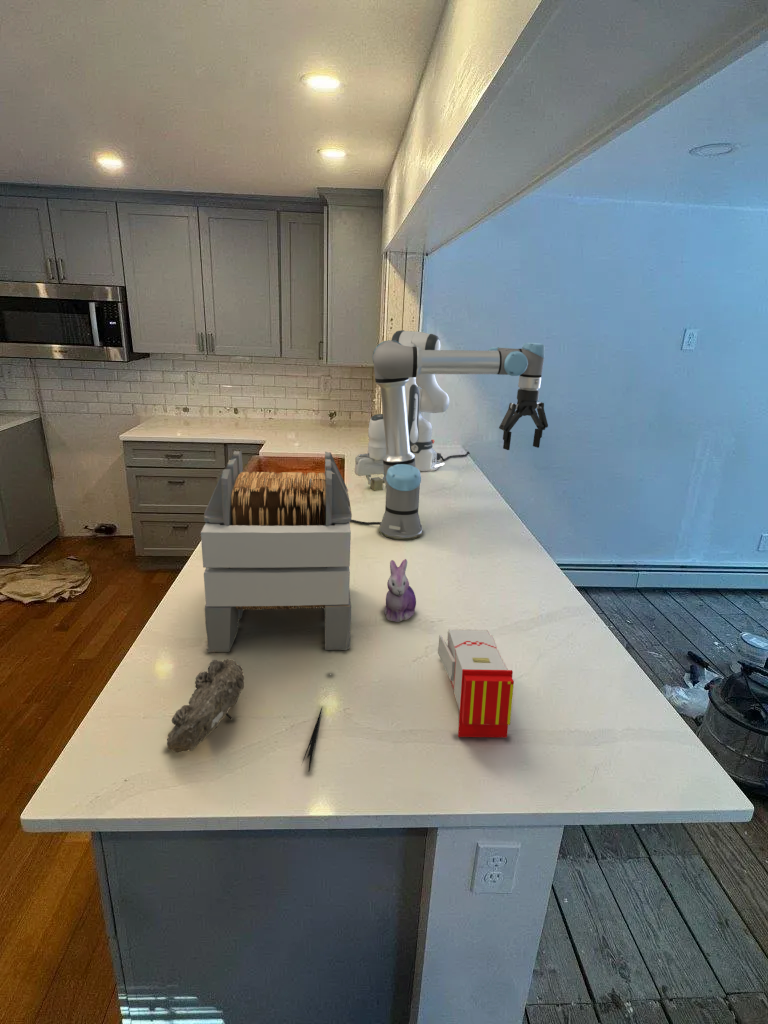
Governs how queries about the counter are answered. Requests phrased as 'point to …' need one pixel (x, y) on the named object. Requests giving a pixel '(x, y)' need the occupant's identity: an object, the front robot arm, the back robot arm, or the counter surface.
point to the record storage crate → (277, 549)
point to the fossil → (206, 705)
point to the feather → (313, 740)
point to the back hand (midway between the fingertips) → (376, 483)
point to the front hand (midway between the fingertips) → (521, 448)
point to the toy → (478, 682)
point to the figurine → (399, 594)
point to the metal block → (377, 484)
